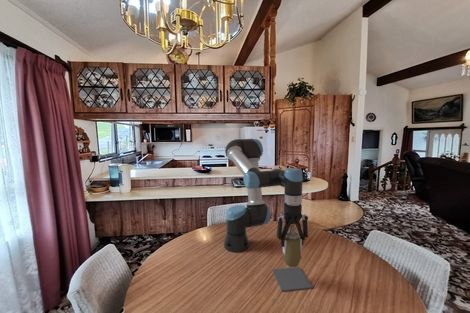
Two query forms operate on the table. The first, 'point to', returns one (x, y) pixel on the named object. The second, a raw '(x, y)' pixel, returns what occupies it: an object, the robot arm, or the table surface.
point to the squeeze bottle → (292, 249)
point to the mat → (291, 279)
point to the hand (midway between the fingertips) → (291, 252)
